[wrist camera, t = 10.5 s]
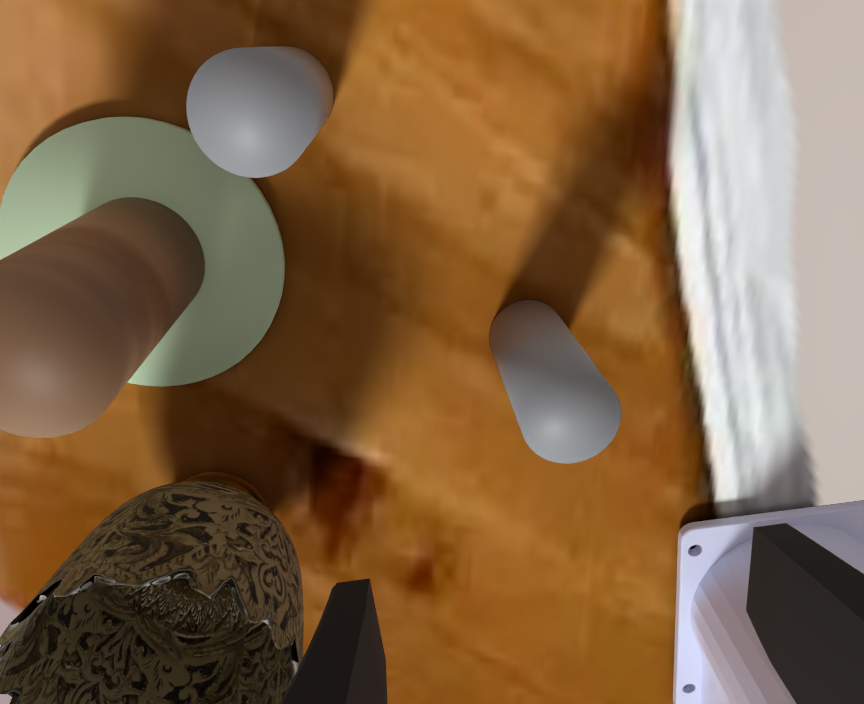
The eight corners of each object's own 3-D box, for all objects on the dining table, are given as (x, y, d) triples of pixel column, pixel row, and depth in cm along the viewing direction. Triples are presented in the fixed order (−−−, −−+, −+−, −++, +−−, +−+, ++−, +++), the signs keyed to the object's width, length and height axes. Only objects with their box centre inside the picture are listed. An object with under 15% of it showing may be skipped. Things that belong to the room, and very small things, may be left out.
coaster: (307, 363, 22) (306, 368, 22) (58, 395, 22) (52, 401, 22) (252, 98, 19) (250, 99, 19) (-40, 136, 19) (-48, 137, 19)
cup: (215, 622, 26) (147, 844, 19) (62, 494, 24) (-84, 694, 16) (371, 521, 25) (362, 719, 18) (226, 372, 22) (146, 532, 15)
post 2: (572, 357, 23) (630, 446, 17) (501, 380, 23) (535, 475, 17) (553, 289, 22) (608, 358, 16) (479, 313, 22) (509, 390, 16)
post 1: (341, 133, 20) (323, 168, 14) (256, 145, 20) (204, 186, 14) (324, 39, 19) (298, 38, 13) (234, 52, 19) (171, 57, 13)
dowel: (218, 309, 21) (140, 426, 15) (99, 324, 21) (-32, 448, 15) (187, 189, 20) (85, 259, 13) (59, 205, 20) (-105, 284, 13)
